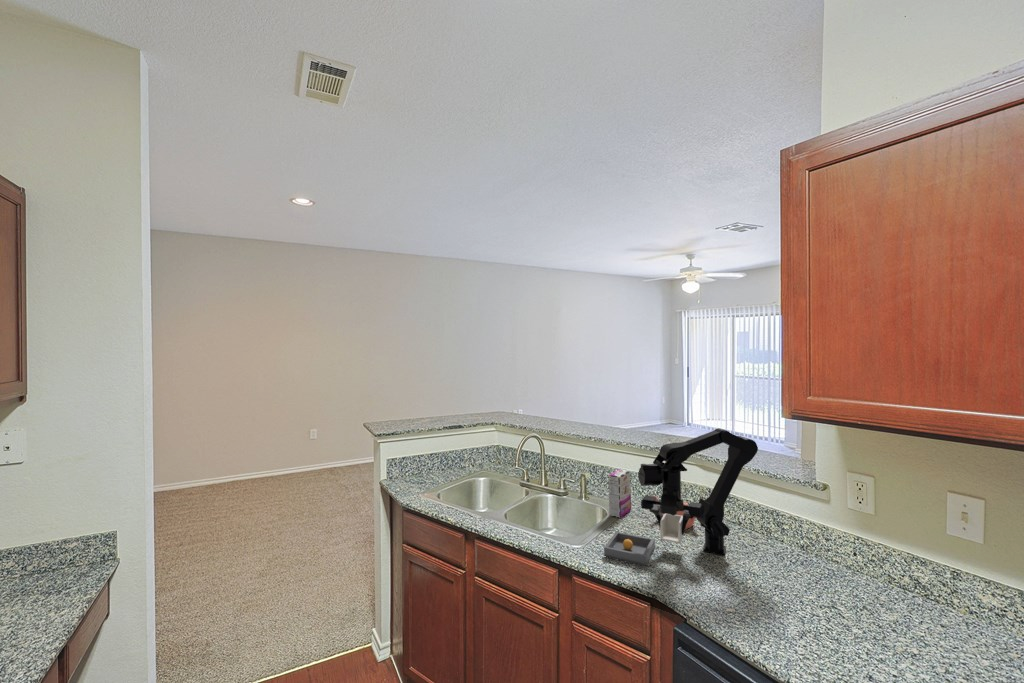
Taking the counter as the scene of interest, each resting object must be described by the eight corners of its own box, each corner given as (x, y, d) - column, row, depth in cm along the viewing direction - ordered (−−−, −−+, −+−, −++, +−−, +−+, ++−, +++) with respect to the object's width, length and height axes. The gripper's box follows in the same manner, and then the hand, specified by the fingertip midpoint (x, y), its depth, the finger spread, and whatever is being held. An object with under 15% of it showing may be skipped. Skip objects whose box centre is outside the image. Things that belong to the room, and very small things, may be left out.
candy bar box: (620, 507, 184) (619, 468, 185) (631, 510, 181) (631, 470, 182) (608, 516, 176) (608, 474, 176) (620, 518, 173) (619, 476, 173)
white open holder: (664, 530, 149) (664, 513, 149) (683, 534, 146) (683, 516, 146) (660, 539, 142) (660, 521, 142) (680, 543, 139) (680, 524, 139)
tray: (616, 540, 153) (616, 531, 153) (654, 548, 147) (654, 539, 147) (604, 557, 141) (604, 547, 141) (645, 566, 135) (645, 556, 135)
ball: (621, 548, 146) (622, 537, 146) (631, 549, 145) (632, 539, 146) (623, 549, 143) (624, 539, 143) (633, 551, 142) (634, 540, 143)
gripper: (636, 487, 142) (637, 536, 142) (699, 495, 133) (700, 548, 133) (644, 478, 152) (645, 524, 152) (703, 485, 143) (704, 534, 143)
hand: (672, 532), depth 144 cm, fingers closed on white open holder, 6 cm apart
